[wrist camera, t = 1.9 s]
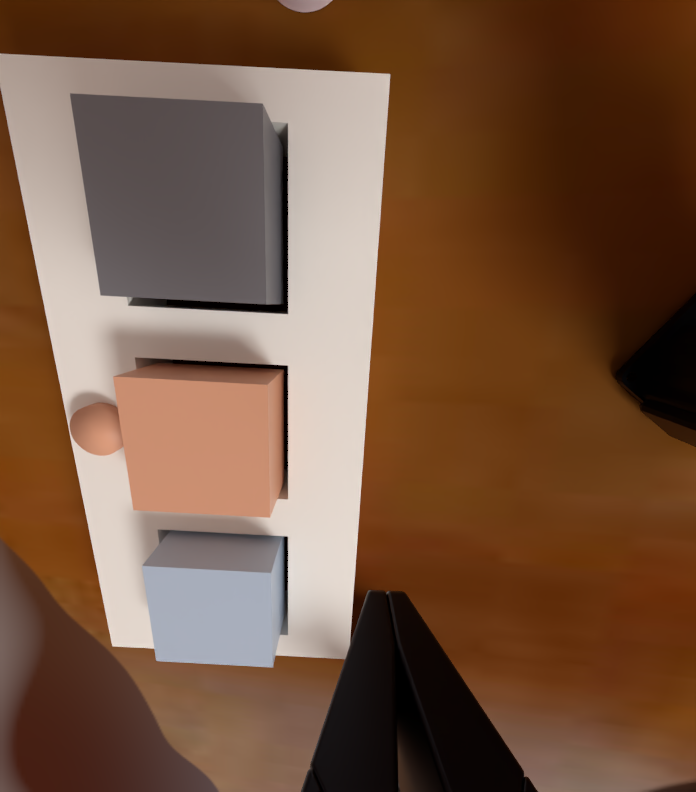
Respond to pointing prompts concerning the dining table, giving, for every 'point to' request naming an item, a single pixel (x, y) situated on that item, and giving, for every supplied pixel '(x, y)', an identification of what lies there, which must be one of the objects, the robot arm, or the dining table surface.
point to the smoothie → (305, 4)
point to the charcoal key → (182, 197)
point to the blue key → (216, 597)
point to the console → (219, 321)
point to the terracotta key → (203, 438)
